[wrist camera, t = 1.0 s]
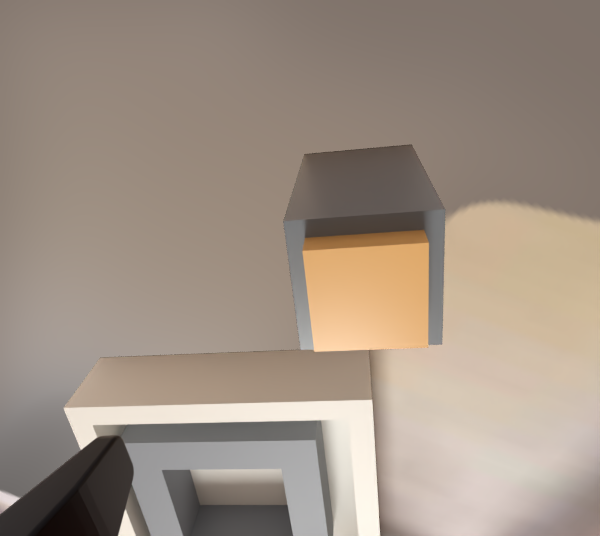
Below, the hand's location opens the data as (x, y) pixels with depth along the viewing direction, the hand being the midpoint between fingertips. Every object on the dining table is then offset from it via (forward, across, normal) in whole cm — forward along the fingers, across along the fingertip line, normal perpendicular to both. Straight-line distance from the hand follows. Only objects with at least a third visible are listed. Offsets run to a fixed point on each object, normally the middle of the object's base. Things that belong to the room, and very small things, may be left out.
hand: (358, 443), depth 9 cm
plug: (+12, 0, 0) cm, 12 cm away
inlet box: (+12, +7, +15) cm, 21 cm away
